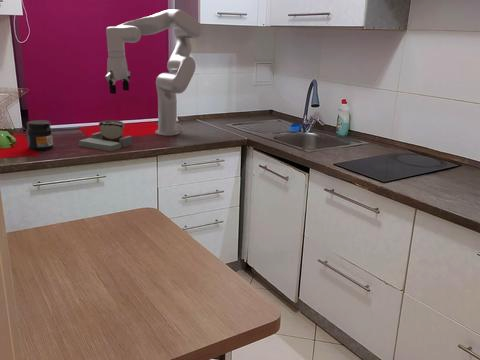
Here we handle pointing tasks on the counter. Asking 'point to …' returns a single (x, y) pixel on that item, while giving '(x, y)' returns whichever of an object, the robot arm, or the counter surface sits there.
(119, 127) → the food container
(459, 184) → the counter surface
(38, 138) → the supplement container
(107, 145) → the grey piece
